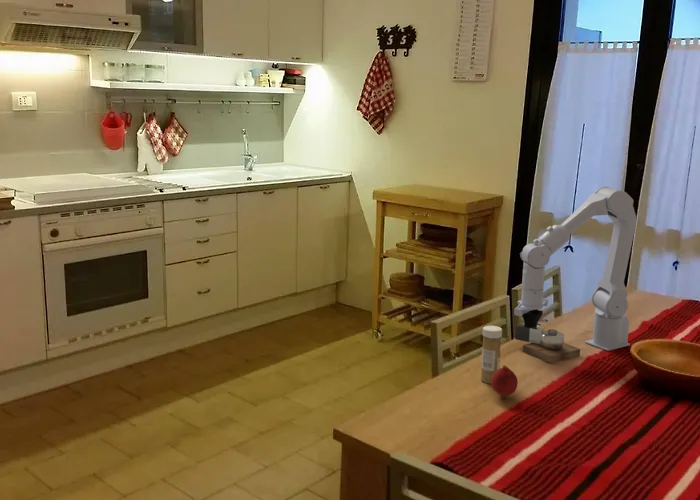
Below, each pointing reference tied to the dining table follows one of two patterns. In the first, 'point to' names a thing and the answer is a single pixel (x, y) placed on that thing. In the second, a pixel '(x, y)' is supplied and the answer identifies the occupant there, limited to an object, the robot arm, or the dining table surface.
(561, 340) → the lever handle
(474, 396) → the dining table surface
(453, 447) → the dining table surface
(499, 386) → the onion
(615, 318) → the robot arm
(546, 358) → the walnut base
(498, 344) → the sprinkles bottle
